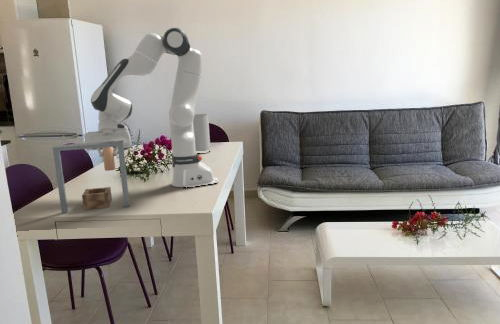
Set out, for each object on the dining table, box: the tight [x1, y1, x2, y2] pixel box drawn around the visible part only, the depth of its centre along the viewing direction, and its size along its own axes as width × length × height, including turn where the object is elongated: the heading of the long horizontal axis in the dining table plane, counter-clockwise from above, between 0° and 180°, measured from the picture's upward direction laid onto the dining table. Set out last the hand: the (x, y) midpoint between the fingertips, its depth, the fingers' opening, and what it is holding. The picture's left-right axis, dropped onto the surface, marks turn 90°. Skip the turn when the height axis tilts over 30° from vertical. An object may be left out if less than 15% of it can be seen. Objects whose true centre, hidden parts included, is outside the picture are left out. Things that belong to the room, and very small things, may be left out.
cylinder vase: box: [193, 113, 211, 151], centre depth 288 cm, size 12×12×25 cm
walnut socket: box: [81, 186, 113, 211], centre depth 180 cm, size 10×10×6 cm
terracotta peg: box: [101, 147, 116, 172], centre depth 192 cm, size 4×4×12 cm
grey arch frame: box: [52, 140, 131, 214], centre depth 174 cm, size 26×6×26 cm, turn 102°
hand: (108, 155), depth 191 cm, fingers closed on terracotta peg, 4 cm apart
